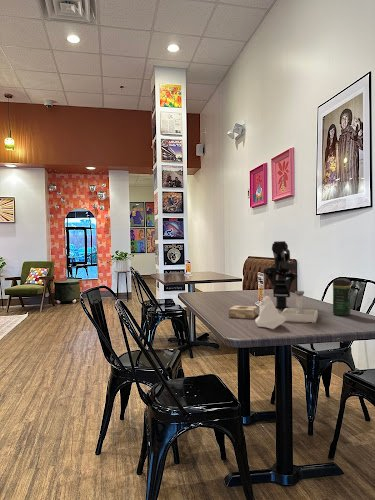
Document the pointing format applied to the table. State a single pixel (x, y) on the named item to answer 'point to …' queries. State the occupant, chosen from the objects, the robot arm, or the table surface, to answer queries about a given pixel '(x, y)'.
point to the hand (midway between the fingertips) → (281, 288)
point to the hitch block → (243, 311)
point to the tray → (300, 315)
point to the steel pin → (299, 302)
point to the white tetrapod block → (269, 315)
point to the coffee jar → (341, 296)
